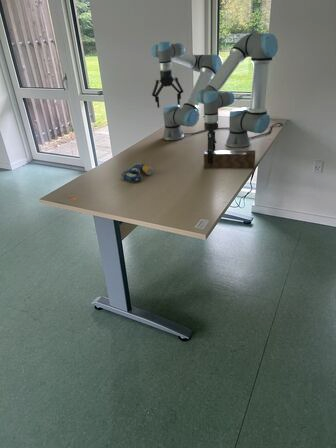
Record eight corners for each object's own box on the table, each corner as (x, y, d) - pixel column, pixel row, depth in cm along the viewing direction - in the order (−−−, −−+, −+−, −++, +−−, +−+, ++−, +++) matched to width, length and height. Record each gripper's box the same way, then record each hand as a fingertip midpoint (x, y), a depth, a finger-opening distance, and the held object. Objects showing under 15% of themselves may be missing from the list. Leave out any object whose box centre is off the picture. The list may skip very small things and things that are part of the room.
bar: (254, 164, 192) (255, 150, 188) (254, 168, 188) (255, 153, 183) (205, 164, 199) (205, 150, 194) (204, 168, 194) (203, 153, 190)
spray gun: (158, 169, 197) (136, 167, 203) (157, 162, 194) (135, 160, 201) (140, 184, 181) (118, 182, 188) (139, 177, 179) (116, 175, 185)
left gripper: (147, 73, 200) (150, 109, 211) (187, 68, 204) (188, 104, 215) (145, 71, 206) (148, 107, 217) (183, 67, 210) (185, 102, 221)
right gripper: (207, 116, 193) (207, 151, 204) (201, 128, 173) (202, 167, 184) (220, 115, 191) (220, 151, 203) (216, 128, 171) (216, 167, 182)
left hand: (168, 105), depth 216 cm, fingers open, 13 cm apart
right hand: (211, 158), depth 193 cm, fingers open, 13 cm apart
